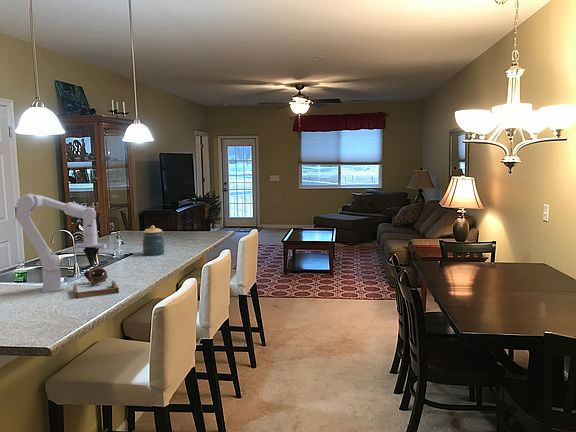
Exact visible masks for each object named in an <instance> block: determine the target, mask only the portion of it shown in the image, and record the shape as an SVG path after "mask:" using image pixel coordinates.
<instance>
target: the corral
mask: <svg viewBox="0 0 576 432" xmlns="http://www.w3.org/2000/svg"><path fill="white" fill-rule="evenodd" d="M111 286H112V288H111V287H109V288H101V289H94V290H86V291H78V287H77V285H76V284H75V285H72V287H73V291H72V292H73V295H74V298H75V299H81V298H91V297H97V296H107V295H111V294H112V295H114V294H119V293H120V288H119V286H118V284H117V283H116V281H115V280H111Z"/></svg>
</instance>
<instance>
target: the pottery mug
mask: <svg viewBox="0 0 576 432" xmlns="http://www.w3.org/2000/svg"><path fill="white" fill-rule="evenodd" d="M83 276H84V277H85V278H86V279H87V280H88V282H89V285H90V286H92V287H94V285H96V284H100V283H103V282H106V280H107V279H109V276H108V272H107V271H106V270H105V269H104V268H102V267H96V268H93V269H91V270H85V271H84V272H83Z"/></svg>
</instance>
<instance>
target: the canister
mask: <svg viewBox="0 0 576 432" xmlns="http://www.w3.org/2000/svg"><path fill="white" fill-rule="evenodd" d="M164 235H165V234H164V233H163V230H162V229H160V228H157V227H155V225H151V226H150V227H149V228H146V229H144V230H143V234H142V235H141V237H142V254H143V256H147V257H148V256H149V257H151V256H153V257H155V256H162V255H164V254H165V250H166V249H165V239H164Z"/></svg>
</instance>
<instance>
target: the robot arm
mask: <svg viewBox="0 0 576 432" xmlns="http://www.w3.org/2000/svg"><path fill="white" fill-rule="evenodd" d="M43 206H45V207H50V208H53V209H58V210H61V211H63V212H64V214H65V215H67V216H71V217H75V218H78V219H82V222H83V223H82V233H83V242H78V243H75V244H74V245H75V247H74V248H75V249H78V248H79V249H83V250H82V251H83V253H84V255H85V256H86V259H87V261H88V264H89V265H93V264H95V262H96V257H97V254H98V252H99V250H100V249H103V250H105V249H107V246H108V245H107V243H99V242H98V229H97V228H98V227H97V220H96V218H97V213H96V212H97V211H96V210H95V209H94V208H92V207H90V206H89V207H88V206H87V205H81V204H78V203H77V202H76V201H72V202H71V201H69V202H67V203H65V202H62V201H59V200H56V199H53V198H50V197H48V196H44V195H40V194H34V193H25V194H23V195H20V197H19V198H18V200H17V202H16V211H15V212H16V213H15V214H16V215H15V218H16V221H17V222H18V224H19V225H20V227H21V228H22V230H23V232H24V233H25V235H26V236H27V238H28V239H29V242H30V243H31V244H32V246H33V248H34V249H35V251H36V253H37V256H38V259H39V260H40V262H41V264H40V265H41V267H42V269H41V273H42V274H41V275H42V288H41V289H42V293H49V292H55V291H58V292H59V291H62V290H63V285H62V280H61V267H59V265H58V264H59V263H60V257H59V256H58V254H56V253H55V252H53V250H52V249H51V248H50V247H49V245H48V244H47V242H46V241H45V239H44V237H43V236H42V235H41V233H40V230H39V229H38V228H37V226H36V225H35V223H34V221H33V220H32V218H31V215H32V212H33V209H34V208H35V207H43Z"/></svg>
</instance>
